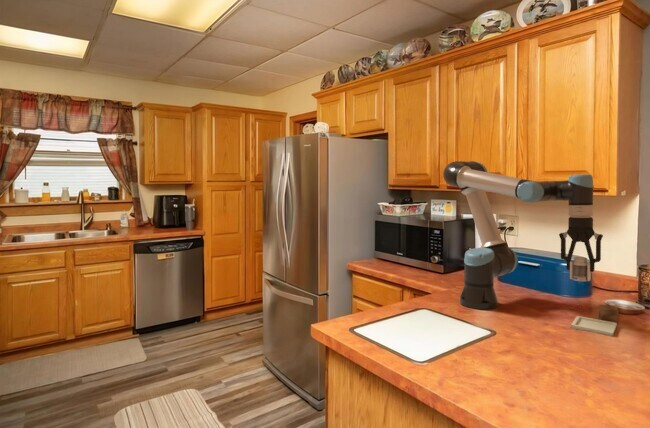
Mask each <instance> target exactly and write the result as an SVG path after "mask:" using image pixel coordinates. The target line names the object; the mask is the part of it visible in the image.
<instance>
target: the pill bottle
mask: <svg viewBox="0 0 650 428" xmlns="http://www.w3.org/2000/svg"><path fill="white" fill-rule="evenodd" d="M587 259H588V257H584V256H575V257H573V279H572V280H573V281H574V282H575V281H576V282H588V281H587V263H588V260H587Z"/></svg>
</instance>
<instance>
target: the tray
mask: <svg viewBox="0 0 650 428" xmlns="http://www.w3.org/2000/svg"><path fill="white" fill-rule="evenodd" d="M617 326H618V324H617V323H614V322H609V321H603V320H600V319H597V318H591V317H585V316H579V315H576V317H575V318H574V320H573V321H571V324H570V329H573V330H574V329H575V330H579V331H584V332H589V333H593V334H600V335H604V336H609V337H614V335H615V332H616V329H617Z"/></svg>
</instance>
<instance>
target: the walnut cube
mask: <svg viewBox="0 0 650 428" xmlns="http://www.w3.org/2000/svg"><path fill="white" fill-rule="evenodd" d="M598 307H599V309H598V318H599V319H598V320H603V321H609V322H614V323H617V325H619V313H620V312H619V309H618V308H617V306H615V305H606V304H605V305H604V304H599V306H598Z"/></svg>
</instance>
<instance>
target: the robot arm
mask: <svg viewBox="0 0 650 428" xmlns="http://www.w3.org/2000/svg"><path fill="white" fill-rule="evenodd" d="M442 175H443V179H444V182H445V183H446V184H448V185H449V186H451V187H457V188H459V190H460V192H461V194H462V195H464V196H465V197H466V200H467V203H468V206H469V210H470V212H471V214H472V218H473V222H474V225H475V227H476V230H477V233H478V236H479V240H480V243H481V245H480V247H474V248H471V249H467V250H466V251H465V253H464V259H463V266H464V267H463V268H464V269H463V270H464V272H463V273H464V275H463V276H464V277H463V278H464V282H463V288H462V290H461V293H460V296H459V304H461V305H462V306H464V307H467V308H470V309H475V310H493V309H496V308H498V306H499V299H498V297H497V293H496V291H495V288H494V283H495V281H494V278H497V277H500V276H505V275H508V274H510V273H513V272H514V271H515V270H516V269H517V266H518V260H519V259H518V255H517V253H516V251H514V250H513V249H512V248H510V247H509V245H508V242H507V241H505V239H504V240H503V239H502V237H501V233H500V230H499V227H498V225H497V221H496V219H495V216H494V213H493V209H492V206H491V204H490V201H489V198H488V195H487V192H490V193H494V194H497V195H502V196H503V195H504V196H507V197H511V198H514V199H515V198H517V199H519V200H520V201H522V202H524V203H536V202H549V201H551V202H552V201H553V202H554V201H568V216H569V217H568V227H567V228H568V229H567V230H566V231H565V232H560V233H559V234H558V236H559V238H560V259H562V260H564V261H565V262H566V270H568V271H569V279H570V280H573V263H574V260H572V258H573V254H574V251H575V247H576V245H577V243H579V242H581V243H583V244H584V246H585V250H586V253H587V256H588V257H587V258H588V261H587V262H586V263H587V281H586V282H591V280H592V279H591V277H592V275H591V274H592V273H594V271H595V265H596V264H595V263H599V262H601V258H602V257H601V256H602V253H601V251H602V246H601V245H602V239H603V237H604V235H603V234H602V233H597V232H595V230H594V218H593V217H592V216H593V215H594V177H593V175H592V174H590V173H588V174H587V173H585V174H571V175H569V176H568V179H567V180H546V181H545V180H543V181H541V180H540V181H538V180H531V179H530V180H529V179H524V178H519V177H514V176H507V175H504V174H498V173H493V172H488V169H487V167H486V166H485V165H484V164H482V163H481V162H478V161H474V160H471V161H470V160H469V161H465V160H464V161H463V160H462V161H459V160H457V161H456V160H455V161H451V162H450V163H448V164H447V165H445V168H444V169H443V174H442ZM567 237H570V239H571V242H570V247H569V249H568V252H567V247H566V245H567V243H566V242H567V241H566V238H567ZM592 237H594V239H595V240H596V241H595V255H594V253H593V251H592V247H591V243H590V239H592ZM566 252H567V253H566ZM566 255H567V256H566ZM594 256H595V257H594Z"/></svg>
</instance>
